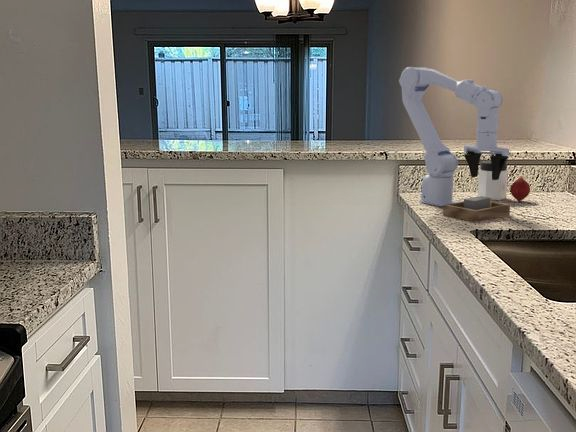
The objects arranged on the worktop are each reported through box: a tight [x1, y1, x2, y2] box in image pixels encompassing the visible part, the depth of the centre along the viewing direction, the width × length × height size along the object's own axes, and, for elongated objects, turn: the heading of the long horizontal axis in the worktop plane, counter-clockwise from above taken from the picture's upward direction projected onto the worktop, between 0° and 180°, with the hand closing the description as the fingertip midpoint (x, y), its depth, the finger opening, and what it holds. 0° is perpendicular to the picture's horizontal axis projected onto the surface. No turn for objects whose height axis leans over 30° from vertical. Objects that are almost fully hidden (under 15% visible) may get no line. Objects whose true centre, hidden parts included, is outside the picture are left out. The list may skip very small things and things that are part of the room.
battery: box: [463, 196, 493, 210], centre depth 167 cm, size 4×8×4 cm, turn 123°
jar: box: [477, 159, 509, 201], centre depth 191 cm, size 9×8×12 cm
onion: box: [509, 176, 531, 202], centre depth 185 cm, size 6×6×8 cm
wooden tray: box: [442, 200, 511, 223], centre depth 167 cm, size 12×14×3 cm
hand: (484, 178), depth 173 cm, fingers open, 7 cm apart
